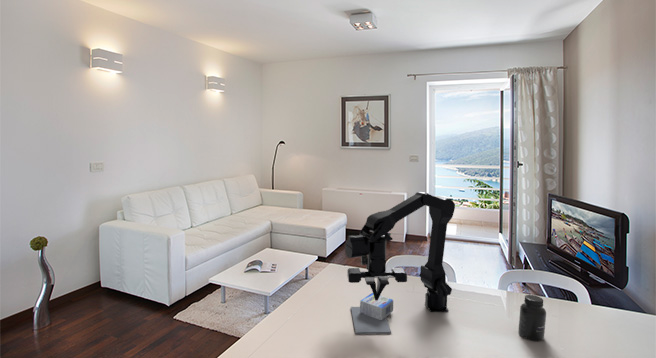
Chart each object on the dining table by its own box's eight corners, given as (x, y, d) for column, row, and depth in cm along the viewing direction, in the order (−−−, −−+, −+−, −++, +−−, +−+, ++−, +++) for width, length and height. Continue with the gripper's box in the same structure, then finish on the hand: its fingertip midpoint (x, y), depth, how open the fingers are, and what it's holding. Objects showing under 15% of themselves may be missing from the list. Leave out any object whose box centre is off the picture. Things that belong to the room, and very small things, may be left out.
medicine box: (382, 308, 112) (359, 300, 117) (381, 321, 112) (359, 312, 118) (393, 299, 118) (371, 292, 123) (393, 311, 118) (371, 304, 124)
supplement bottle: (544, 344, 101) (547, 305, 99) (517, 337, 104) (520, 299, 103) (544, 333, 106) (547, 296, 105) (518, 327, 110) (521, 291, 109)
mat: (381, 308, 122) (381, 306, 122) (391, 333, 106) (391, 331, 106) (350, 308, 122) (350, 306, 122) (355, 334, 106) (355, 332, 106)
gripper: (399, 246, 120) (398, 289, 121) (346, 246, 119) (345, 289, 121) (408, 257, 109) (406, 304, 110) (349, 257, 108) (348, 304, 110)
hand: (376, 299), depth 113 cm, fingers closed
